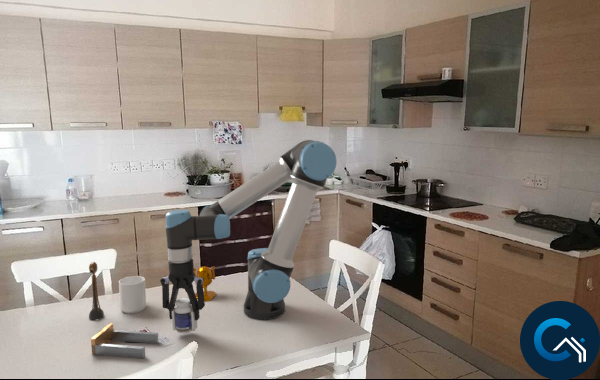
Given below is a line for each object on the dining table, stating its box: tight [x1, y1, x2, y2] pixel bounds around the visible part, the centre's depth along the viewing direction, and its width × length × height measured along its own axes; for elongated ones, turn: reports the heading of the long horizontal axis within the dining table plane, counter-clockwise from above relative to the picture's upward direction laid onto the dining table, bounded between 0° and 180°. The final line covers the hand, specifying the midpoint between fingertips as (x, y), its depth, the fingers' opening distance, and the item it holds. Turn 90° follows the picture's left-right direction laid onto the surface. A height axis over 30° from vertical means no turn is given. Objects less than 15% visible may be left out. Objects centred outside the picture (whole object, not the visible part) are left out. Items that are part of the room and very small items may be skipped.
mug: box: [118, 275, 147, 314], centre depth 161 cm, size 12×9×11 cm
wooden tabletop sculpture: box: [88, 261, 105, 321], centre depth 152 cm, size 6×5×20 cm
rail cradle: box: [90, 323, 159, 359], centre depth 133 cm, size 16×10×5 cm, turn 83°
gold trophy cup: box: [194, 265, 217, 303], centre depth 172 cm, size 9×11×12 cm
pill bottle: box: [174, 297, 193, 334], centre depth 140 cm, size 6×6×10 cm
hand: (185, 328), depth 141 cm, fingers closed on pill bottle, 6 cm apart
